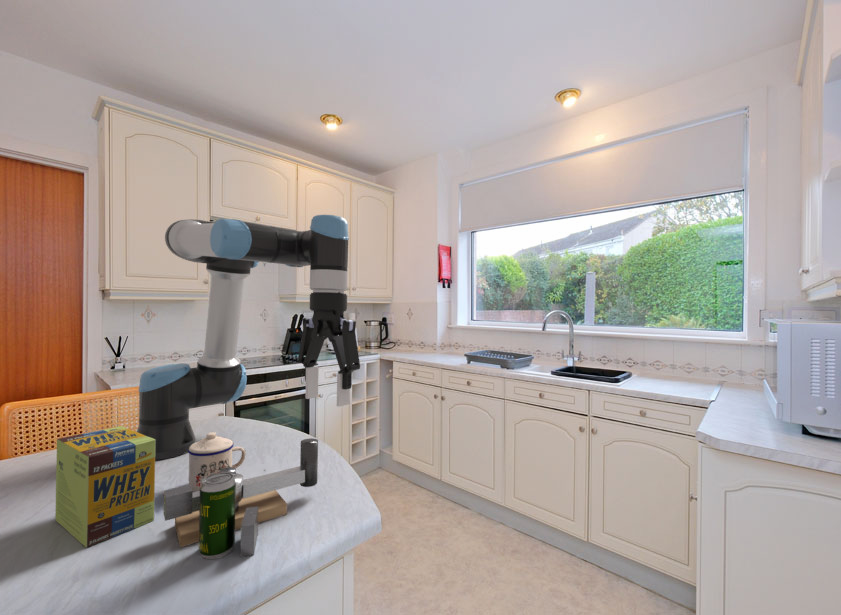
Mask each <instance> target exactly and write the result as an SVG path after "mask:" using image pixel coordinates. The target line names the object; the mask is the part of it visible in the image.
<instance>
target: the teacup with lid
mask: <svg viewBox="0 0 841 615" xmlns="http://www.w3.org/2000/svg"><path fill="white" fill-rule="evenodd" d="M235 451H240V452H241V456H240V459H239V460H238V462H237V463H234V464H233V452H235ZM187 453H188V454H189V456H188V463H189V464H188V485H190V486H191V488H192V493H193V492H197V491H200V486H201V482H202V479H204V478H205V477H207V476H209V475H211V474H215V473H220V470H221V469H223V468H227V467H234V468H236V469H238V468H239V467H241V465H243V463H244V462H245V460H246V456H247V453H246V450H245V449H244V448H243V447H242V446H234V441H232V440H231V439H229V438H225V437H221V436H218V435H217V432H213V431H212V432H208V433H207V434H206V437H203V438H202V439H201V440H199V441H195V443H194V444H192V445H191V446H190V447H189V450H188V452H187Z"/></svg>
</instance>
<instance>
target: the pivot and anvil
mask: <svg viewBox="0 0 841 615" xmlns="http://www.w3.org/2000/svg"><path fill="white" fill-rule="evenodd" d="M221 472H228V473H232V474H234V477H235V476H236V473H237V468H234V467H227V468H223V469H221V470H220V473H221ZM238 510H239V502H238V503H237V504H235V513H236V512H237V511H238ZM258 536H259V523H258V507H250V508H246V511H245V514H244V518H243V522H242V525H241V528H240V558H242V557H248V556H249V557H250V556H254V555H255V551H256V546H257V541H258Z"/></svg>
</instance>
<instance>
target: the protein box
mask: <svg viewBox="0 0 841 615" xmlns="http://www.w3.org/2000/svg"><path fill="white" fill-rule="evenodd" d="M155 441H156V440H155V439H153V438H150V437H147V436H145V435H143V434H140V433H138V432H137V431H135V430H132V429H130V428H128V427H126V426H122V425H121V426H116V427H112V428H111V427H110V428H105V429H101V430H95V431H90V432H85V433H79V434H76V435H70V436H69V435H68V436H65V437H59V438H57V439H56V462H55V463H56V464H55V465H56V469H55V470H56V472H55V517H54V518H55V521H56V523H58V524H59V525H60V526H61V527H62V528H64V529H65V530H66V531H67V532H68V533H69V534H70V535H71V536H73V538H75V539H76V540H77V541H78V542H79V543H80V544H81V545H83V546H84V547H85V548H86V549H87V548H89V547H92V546H95V545H96V544H98V543H101V542H102V543H103V541H106V540H107V541H108V540H110V539H111V538H114V537H116V536H119V535H121V534H124V533H126V532H129V531H132V530H135V529H136V528H139V527H141V526H143V525H146V524H148V523H149V524H150V523H151V522H154V520H155V487H156V480H155V479H156V472H155V471H156V460H155Z"/></svg>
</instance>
